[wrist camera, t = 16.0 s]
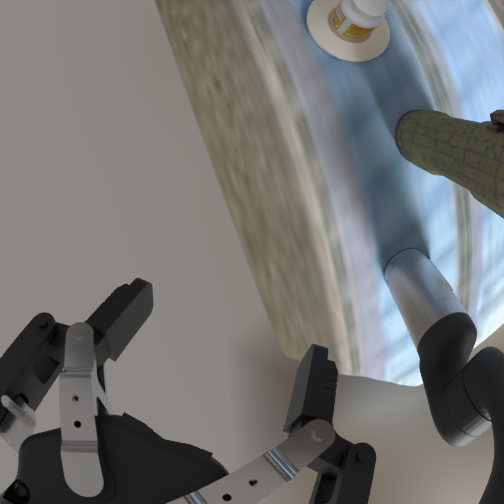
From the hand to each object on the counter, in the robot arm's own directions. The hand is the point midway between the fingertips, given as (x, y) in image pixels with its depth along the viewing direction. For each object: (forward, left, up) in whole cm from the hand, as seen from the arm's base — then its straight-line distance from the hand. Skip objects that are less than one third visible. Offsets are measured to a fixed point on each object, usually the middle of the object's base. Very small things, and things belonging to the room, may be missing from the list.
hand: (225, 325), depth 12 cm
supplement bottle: (-9, -25, -29) cm, 39 cm away
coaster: (-9, -25, -31) cm, 40 cm away
